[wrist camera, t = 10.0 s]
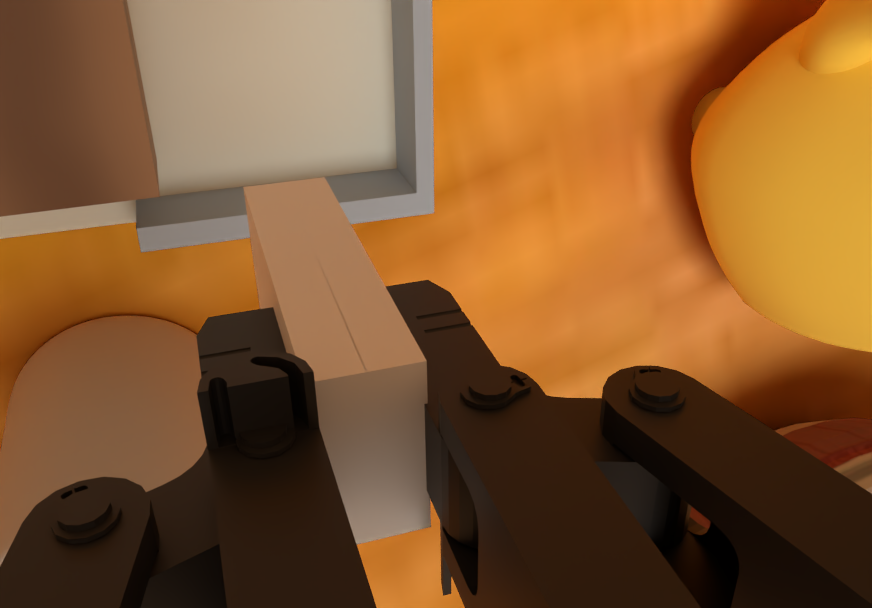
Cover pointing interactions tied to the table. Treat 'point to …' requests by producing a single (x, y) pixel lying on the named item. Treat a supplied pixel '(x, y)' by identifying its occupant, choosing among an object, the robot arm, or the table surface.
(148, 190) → the walnut block
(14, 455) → the mug
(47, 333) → the table surface
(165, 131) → the deck
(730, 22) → the table surface
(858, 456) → the bowl
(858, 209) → the teapot
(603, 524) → the robot arm
